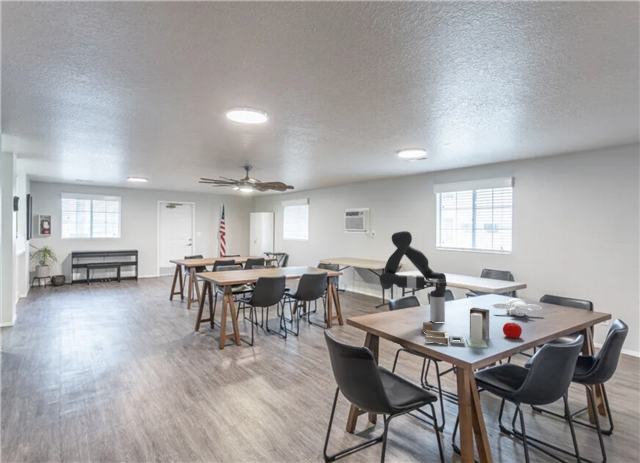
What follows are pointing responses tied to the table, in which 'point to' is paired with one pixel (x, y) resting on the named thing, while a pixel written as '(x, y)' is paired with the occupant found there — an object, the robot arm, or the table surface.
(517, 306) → the white quadcopter drone
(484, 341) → the pad
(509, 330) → the tomato
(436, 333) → the cubby
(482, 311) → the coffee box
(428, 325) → the walnut block
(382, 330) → the table surface
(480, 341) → the white tall block
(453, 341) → the hole plate
